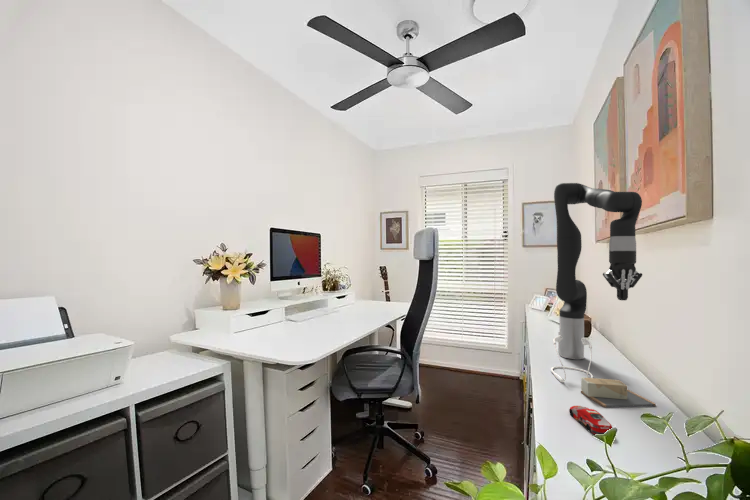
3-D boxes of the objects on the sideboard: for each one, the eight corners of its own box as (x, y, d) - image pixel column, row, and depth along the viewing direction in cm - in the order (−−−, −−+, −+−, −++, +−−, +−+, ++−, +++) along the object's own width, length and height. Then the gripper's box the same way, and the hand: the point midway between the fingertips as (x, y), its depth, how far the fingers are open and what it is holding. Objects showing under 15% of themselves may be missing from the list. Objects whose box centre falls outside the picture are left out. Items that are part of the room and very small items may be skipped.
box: (628, 386, 101) (588, 383, 103) (627, 400, 101) (588, 397, 103) (618, 379, 106) (580, 376, 108) (618, 392, 106) (580, 390, 108)
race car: (566, 412, 95) (565, 398, 95) (585, 413, 95) (585, 399, 95) (593, 438, 82) (593, 422, 82) (616, 439, 82) (616, 422, 82)
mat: (580, 392, 108) (580, 390, 108) (628, 391, 109) (628, 389, 109) (603, 407, 98) (603, 405, 98) (655, 406, 99) (655, 403, 99)
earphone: (553, 374, 114) (551, 331, 126) (551, 398, 123) (549, 356, 136) (600, 380, 108) (593, 335, 120) (594, 406, 118) (588, 361, 130)
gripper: (631, 249, 119) (631, 298, 119) (596, 249, 118) (596, 298, 118) (650, 249, 111) (650, 301, 111) (612, 249, 111) (612, 301, 111)
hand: (622, 300), depth 115 cm, fingers closed
